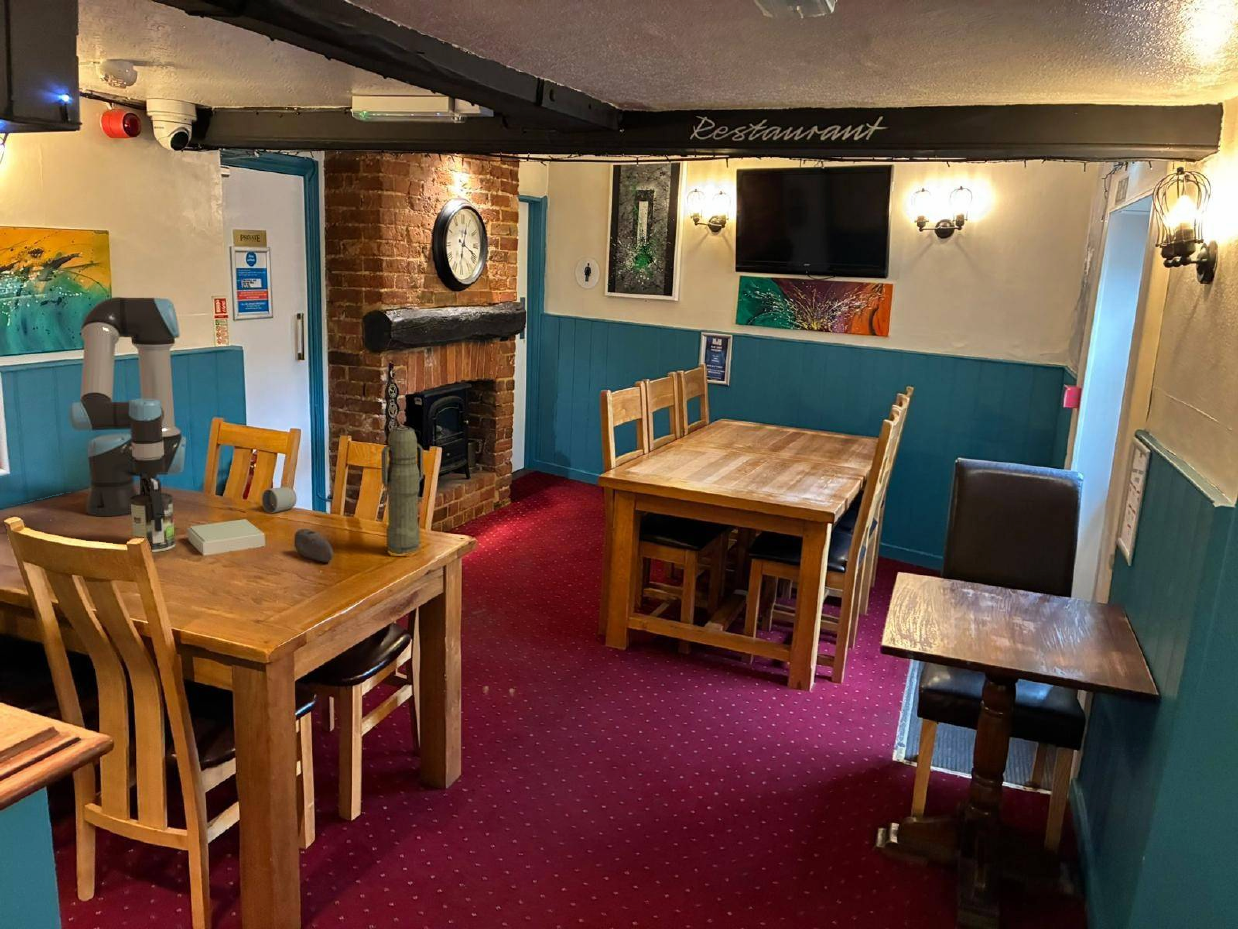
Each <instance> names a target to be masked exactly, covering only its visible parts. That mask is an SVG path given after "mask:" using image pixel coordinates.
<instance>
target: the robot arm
mask: <svg viewBox="0 0 1238 929" xmlns="http://www.w3.org/2000/svg"><path fill="white" fill-rule="evenodd" d="M82 321H83V322H82V324H81V330H80V331H81V332H80V335H81V338H82V340H83V341H84V343H83V346H84V347H83V361H82V370H81V371H82V373H81V386H80V401H77V402H72V403H71V404H70V406H69V419H70V420H69V421H70V422H69V423H70V425H71V428H72V429H73V430H75V431H88V432H89V431H90V432H92V431H108V430H109V431H110V430H111V431H112V430H119V431H120V430H130V433H128V432H124V433H123V432H119V433H112V434H105V435H99V436H97V437H94V438H92V439H91V440H90V441H89V442H88V445H87V457H88V465H89V478H90V479H89V480H90V490H89V493H88V496H87V500H86V504H85V511H86V514H87V513H88V514H87V515H90V516H93V517H116V516H117V517H118V516H125V515H131V514H130V513H131V504H130V497H132V496H135V495H138V494H143V495H146V496H148V498H149V501H152V504H151V515H152V517H151V518H149V520H151V526H152V540H153V543H160V542H164V529H163V518H165V515H164V508H163V500H162V493H163V492H162V482H161V481H160V478H158V476H169V475H178V474H180V473H182V472H183V471H184V467H185V466H184V465H185V457H186V455H185V454H186V446H187V444H186V443H187V438H186V436H183V435H181V434H182V433H181V430H180V429H179V428H177V427H176V426H175V412H174V411H175V409H174V397H173V396H174V395H173V394H174V393H173V382H172V365H171V348H172V347H173V346H175V344H176V341H175V339H179V338H180V336H181V333H180V329H179V328H180V327H179V321H178V317H177V313H176V309H175V305H174V303H173V302H172V300H170V299H168V298H161V297H120V296H119V297H118V296H115V297H109V298H106V299H105V300H102V301H100V302H99V303H97V304H95V305H94V306H93V307H92V308H91V310H89V311H88V313H87V314H86V316H85V317H84V319H83V320H82ZM120 338H130V340H131V345H133V346H134V347H135V348H136V349H137V355H138V356H137V358H138V369H139V382H140V396H141V397H140V398H135V399H131V400H130V401H113V396H114V394H113V393H114V372H115V371H114V370H115V356H116V355H115V353H116V352H115V351H116V344H117V343H118V342H119V341H120ZM135 477H139V491H138V490H137V487H136V485H135ZM156 514H157V515H156Z"/></svg>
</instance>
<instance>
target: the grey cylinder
mask: <svg viewBox="0 0 1238 929" xmlns="http://www.w3.org/2000/svg"><path fill="white" fill-rule="evenodd" d="M261 502H262V503H261V505H262V508H264V511H266V513H269V514H275V513H279V512H283V511H287V510H291V509H293V508H294V507H295V506H296V504H297V494H296V492H295V490H294V489H293V488H292V487H289V486H288V487H287V486H281V487H276V488H275V487H274V488H267V489H265V490H264V491H263V492H262V495H261ZM272 504H273V505H272ZM290 508H291V509H290Z"/></svg>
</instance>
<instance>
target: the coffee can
mask: <svg viewBox="0 0 1238 929" xmlns="http://www.w3.org/2000/svg"><path fill="white" fill-rule="evenodd" d="M161 493H162V500H163V508H164V515H165V518H163V529H164V542H160V543H153V540H152V526H151V520H149V518H151V517H152V515H151V504H152V501H149V498H148V496H146V495H143V494H140V493H139V494H138V495H135V496H132V497H130V504H131V514H130V517H131V527H132V528H131V529H132V539H133V538H134V537H145V538H147V539H148V541H149V543H150V546H151V550H152V552H151V553H160V552H165V551H167V550H172V549H173V548H175V546H176V543H175V542H176V540H175V524H174V507H173V498H174V497H173V494H170V493H167V492H161ZM156 515H157V514H156Z"/></svg>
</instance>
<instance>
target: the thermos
mask: <svg viewBox="0 0 1238 929" xmlns="http://www.w3.org/2000/svg"><path fill="white" fill-rule="evenodd" d="M387 443H388V444H386V446H383V448H382V451H381V481H382V485H384V486H386V487H385V488H386V489H385V490H386V492H387V497H388V498H387V499H388V500H387V501H388V502H387V504H388V512H387V513H388V524H387V528H386V546H387V550H388V551H390V552H392V553H396V554H403V553H409V552H413V551H416V550H418V548H419V549H420V545H421V540H420V538H421V537H420V536H421V533H420V532H421V530H420V526H419V523H418V522H419V520H418V519H419V518H418V515H419V514H418V512H419V510H418V507H419V506H418V504H419V503H418V502H419V501H418V495H419V492H420V482H421V481H422V479H423V478H424V448H423V447H422V445H421V444H419V443H418V438H417V435H416V433H415V429H414V428H412V427H410V426H395V427H393V428H391V429H390V431H389V435H388V438H387Z"/></svg>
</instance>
